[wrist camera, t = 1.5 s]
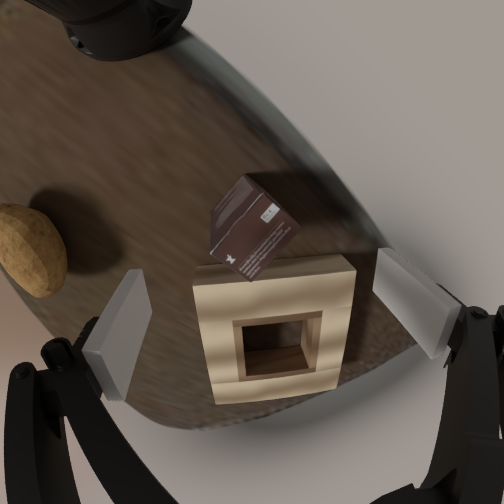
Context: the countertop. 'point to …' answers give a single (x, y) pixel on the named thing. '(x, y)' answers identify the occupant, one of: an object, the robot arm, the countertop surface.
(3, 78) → the countertop surface
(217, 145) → the countertop surface
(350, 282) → the square frame
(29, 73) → the countertop surface
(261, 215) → the box
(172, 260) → the countertop surface
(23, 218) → the potato
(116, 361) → the robot arm
